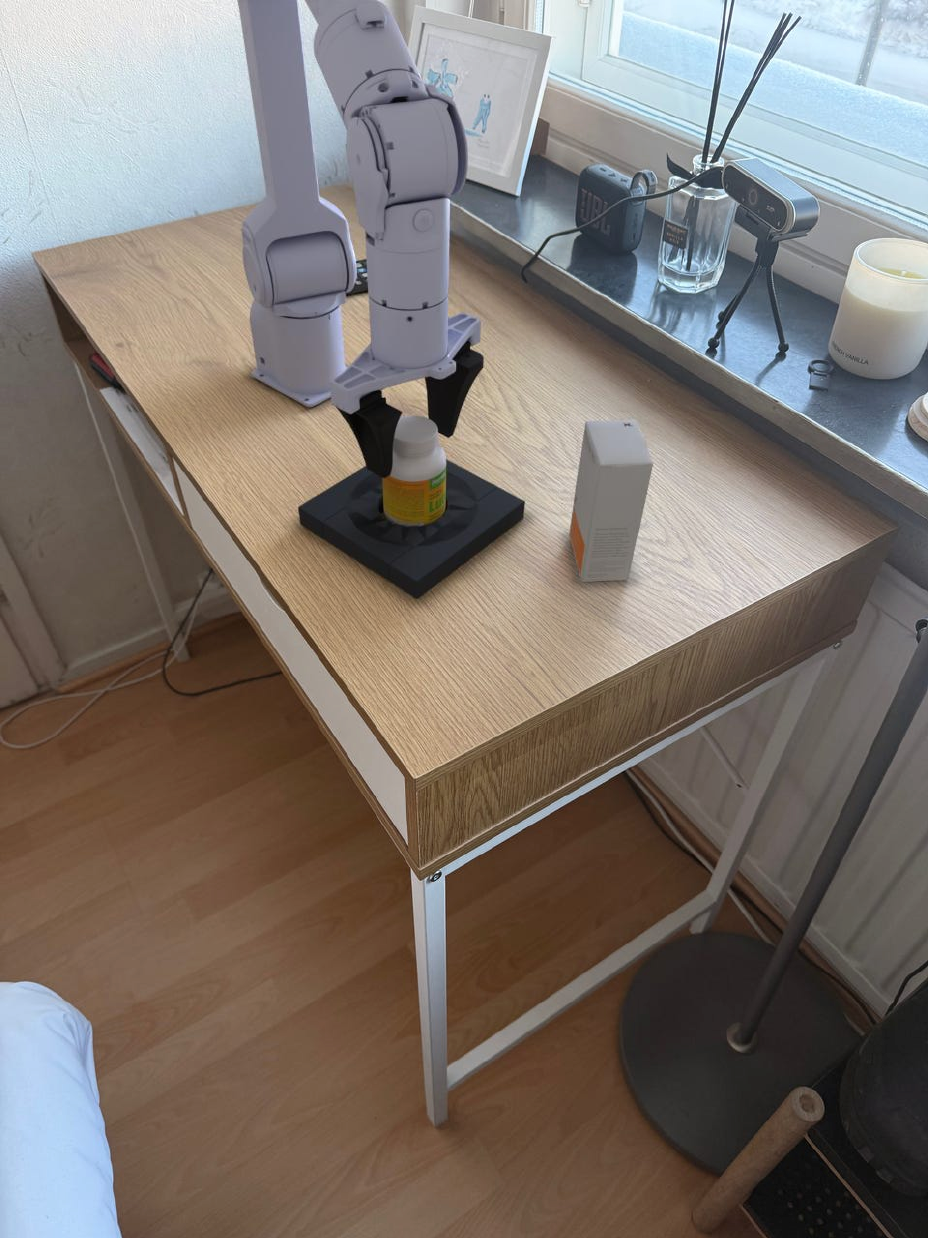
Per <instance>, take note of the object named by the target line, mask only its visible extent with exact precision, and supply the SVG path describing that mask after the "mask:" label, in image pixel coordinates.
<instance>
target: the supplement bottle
mask: <svg viewBox="0 0 928 1238" xmlns="http://www.w3.org/2000/svg"><path fill="white" fill-rule="evenodd" d="M438 441H439V433H438V429H437V426H436V424H435V423H434V422H433V421H432V420H430V419H429V418H428V417H425V416H422V415H415V414H414V415H413V414H412V415H404V416H401V417H400V419H399V421H398V424H397V427H396V431H395V435H394V441H393V466H392V471H391V474H390V475H389V476H388V477H386V478H382V484H383V506H384V510H383V518H385V519H387V520H388V521H390V522H392V523H394V524H398V525H402V526H406V527H412V526H423V525H427V524H430V523H433V522H435V521H436V520H438V519H439V518H441V517H442V516H443V515H444V513H445V502H446V459H447V456H446V452H445V450H444V448H443V447H442V446H441V445H440V444H439V442H438Z"/></svg>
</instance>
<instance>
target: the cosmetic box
mask: <svg viewBox="0 0 928 1238" xmlns="http://www.w3.org/2000/svg"><path fill="white" fill-rule="evenodd" d="M647 445H648V444H647V442H646V439H645V437H644V436H643V433H642V431H641V429H640V426H639V424H638V421H637V420H636V419H606V420H605V419H604V420H601V419H600V420H586V421H585V422H584V428H583V436H582V442H581V448H580V449H581V450H580V457H579V463H578V471H577V476H576V484H575V492H574V500H573V506H572V513H571V521H570V527H569V533H568V538H569V540H570V544H571V547H572V551H573V552H572V553H573V555H574V558H575V562H576V563H575V564H576V566H577V567H576V568H577V572H578V576H579V580H580V582H581V583H591V582H593V583H594V582H609V581H610V582H614V581H628V580H629V578H630V573H631V569H632V565H633V559H634V555H635V550H636V545H637V541H638V536H639V531H640V528H641V523H642V517H643V513H644V510H645V509H644V508H645V504H646V499H647V495H648V491H649V486H650V479H651V475H652V472H653V467H654V462H653V460H652V457H651V454H650V452H649V450H648V446H647Z"/></svg>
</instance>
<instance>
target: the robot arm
mask: <svg viewBox="0 0 928 1238" xmlns="http://www.w3.org/2000/svg"><path fill="white" fill-rule="evenodd" d="M236 1H237V6H238V11H239V20H240V24H241V31H242V39H243V45H244V46H243V47H244V52H245V58H246V66H247V72H248V80H249V86H250V93H251V99H252V100H251V101H252V106H253V112H254V120H255V127H256V131H257V132H256V133H257V141H258V147H259V153H260V159H261V161H260V162H261V167H262V172H263V173H262V175H263V182H264V186H265V187H264V188H265V196H264V197H263V198H262V199H261V200H260V201H259V203H258V204H257V205H256V206H255V207H254V208H253V209H252V210H251V211H250V212H249V213H248V214H247V215H246V216H245V217H244V218H243V219H242V221H241V228H240V230H241V231H240V232H241V237H242V263H243V269H244V274H245V277H246V282H247V285H248V288H249V290H250V293H251V296H252V298H253V300H252V303H251V306H250V309H249V310H250V311H249V325H250V330H251V337H252V338H251V339H252V345H253V350H254V357H255V362H256V369H253V370H252V371H251V372H250V374H251V377H252V378H254V379H255V380H258V381H260V382H261V383H263V384H265V385H267V386H269V387H270V388H272V389H274V390H275V391H278V392H280V393H282V394H283V395H285V396H287V397H289V398H290V399H292V400H294V401H296V402H298V403H299V404H301V405H303V406H305V407H307V408H313V407H315V406H317V405H319V404H321V403H323V402H324V401H326V400H328V399H330V398H331V399H330V400H331V405H333V406H334V407H335V408H336V409H337V411H338V412H339V413H340V414H341V416H342V418H343V419H344V421H345V422H346V424H347V425H348V426H349V429H350V430H351V432H352V433H353V436H354V438H355V440H356V442H357V444H358V446H359V449H360V452H361V454H362V457H363V460H364V464H365V466H367V469H368V470H370V471H372V472H374V473H375V474H377V475H379V476H380V477H382V478H386V477H388V476H389V475H390V474H391V471H392V466H393V441H394V435H395V431H396V427H397V424H398V421H399V419H400V417H402V415H403V411H402V410H399V409H398V408H396V407H395V406H392V405H390V404H388V403H387V398H386V396H385V397H383V390H385V389H386V388H390V387H394V386H399V385H402V384H406V383H410V382H413V381H417V380H421V379H424V382H425V387H426V399H427V415H428V416H427V418H428V419H430V420H432V421H433V422H434V423H435V424H436V426H437V429H438V434H440V435H442V436H443V437H446V438H447V439H449V438H452V437H453V436H454V434H455V431H456V428H457V425H458V422H459V419H460V415H461V412H462V409H463V406H464V403H465V400H466V398H467V396H468V393H469V392H470V389H471V388H472V385H473V384H474V382H475V380H476V379H477V377H478V375H479V374H480V373H481V372H482V370H483V369H484V364H485V363H484V362H485V358H484V355H483V354H481V353H480V352H478V351H476V350H474V349H471V347H473V346H476V345H477V344H479V343H481V333H482V330H481V329H482V320H481V319H480V318H477V317H475V316H473V315H470V314H468V313H466V312H464V311H462V312H460V313H457V314H454V315H453V316H449V292H450V291H449V290H450V289H449V283H450V281H449V280H450V228H451V227H450V226H451V225H450V223H451V221H450V220H451V200H450V199H449V197H450V196H457V195H458V194H459V193H461V191H462V190H463V188H464V186H465V183H466V181H467V175H468V169H469V150H468V141H467V134H466V130H465V125H464V123H463V119H462V117H461V115H460V112H459V109H458V106H457V104H456V102H455V100H454V99H453V98H452V97H451V96H449V95H448V94H446V93H441V92H439V90H438V88H437V86H436V85H435V84H427V83H424V80H423V78H422V76H421V74H420V72H419V69H418V67H417V65H416V62H415V61H414V59H413V56H412V54H411V52H410V50H409V48H408V45H407V43H406V41H405V39H404V36H403V34H402V32H401V30H400V28H399V25H398V23H397V21H396V19H395V17H394V15H393V12H392V11H391V10H390V8H389V7H388V6H387V5H386V4H384V2H382V1H380V0H304V1H305V4H306V5H307V7H308V9H309V11H310V12H311V15H312V17H313V18H314V20H315V21H316V23H317V27H316V30H315V33H314V39H313V53H314V54H313V55H314V57H315V61H316V62H317V65H318V67H319V69H320V72H321V74H322V77H323V78H324V81H325V83H326V85H327V88H328V90H329V93H330V94H331V97H332V100H333V102H334V104H335V106H336V109H337V111H338V114H339V115H340V118H341V120H342V122H343V125H344V127H345V129H346V143H345V152H346V153H345V154H346V161H347V166H348V171H349V172H348V173H349V175H350V179H351V180H350V181H351V184H352V188H353V191H354V197H355V208H356V211H355V212H356V215H357V219H358V224H359V226H360V227H361V228H362V229H364V234H365V237H364V238H365V257H366V258H365V259H367V277H368V290H367V294H368V295H367V297H368V311H369V312H368V313H369V314H368V315H369V330H370V331H369V332H370V343H369V344H368V345H367V347H365V348H364V350H363V351H362V352H360V353H359V355H358V356H357V357H356V358H355V359H354V360H353V361H352V362H351V364H349V366H347V365H346V357H345V345H344V332H343V319H342V305H343V304H346V303H347V295H346V294H345V293H346V292H350V291H351V290H352V289H353V286H354V284H355V282H356V277H357V266H356V261H357V259H356V254H355V250H354V247H353V243H352V240H351V235H350V234H351V233H350V228H349V222H348V220H347V218H346V217H345V215H344V213H343V212H342V210H340V209H339V208H338V207H337V206H336V205H334V204H333V203H332V202H330V201H329V200H328V199H325V198H324V197H322V196H321V195H320V190H319V181H318V171H317V163H316V153H315V145H314V144H315V143H314V137H313V136H314V135H313V127H312V117H311V110H310V109H311V108H310V107H311V106H310V100H309V91H308V90H309V89H308V82H307V72H306V62H305V53H304V46H303V36H302V28H301V27H302V25H301V18H300V17H301V16H300V10H299V9H300V8H299V0H236Z"/></svg>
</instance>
